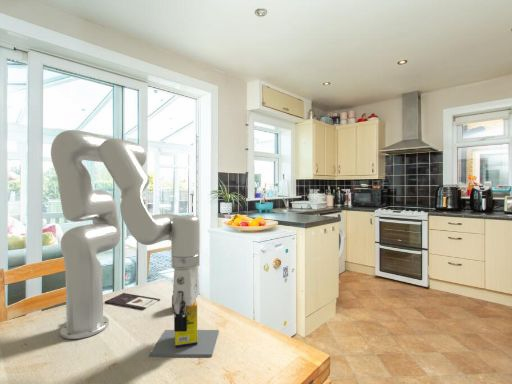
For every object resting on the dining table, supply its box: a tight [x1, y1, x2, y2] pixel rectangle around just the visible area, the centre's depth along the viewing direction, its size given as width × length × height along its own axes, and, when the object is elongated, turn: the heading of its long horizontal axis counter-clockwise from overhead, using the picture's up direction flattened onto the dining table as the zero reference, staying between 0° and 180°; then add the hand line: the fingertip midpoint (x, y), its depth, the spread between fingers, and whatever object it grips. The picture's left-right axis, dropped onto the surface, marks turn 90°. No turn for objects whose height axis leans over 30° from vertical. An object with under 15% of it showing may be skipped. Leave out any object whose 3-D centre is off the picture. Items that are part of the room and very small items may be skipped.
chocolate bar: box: [104, 292, 161, 311], centre depth 105 cm, size 9×1×18 cm
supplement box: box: [175, 299, 198, 348], centre depth 77 cm, size 6×6×11 cm
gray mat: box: [149, 329, 220, 358], centre depth 77 cm, size 16×12×1 cm
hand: (185, 321), depth 77 cm, fingers open, 9 cm apart
